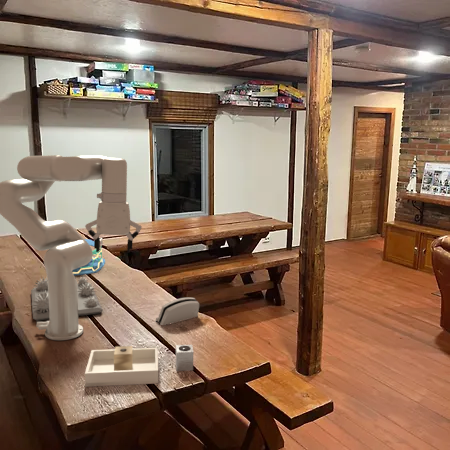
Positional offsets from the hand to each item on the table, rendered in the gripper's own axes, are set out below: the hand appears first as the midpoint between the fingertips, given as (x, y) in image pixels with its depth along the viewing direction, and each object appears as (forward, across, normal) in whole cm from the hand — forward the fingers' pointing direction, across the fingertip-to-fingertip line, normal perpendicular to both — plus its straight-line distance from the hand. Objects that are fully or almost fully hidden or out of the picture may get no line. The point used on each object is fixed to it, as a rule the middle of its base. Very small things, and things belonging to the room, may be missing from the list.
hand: (113, 251), depth 145 cm
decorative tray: (+34, -24, +40) cm, 57 cm away
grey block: (+32, +23, -16) cm, 42 cm away
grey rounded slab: (+32, +23, +20) cm, 44 cm away
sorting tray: (+32, +5, -18) cm, 37 cm away
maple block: (+31, +5, -18) cm, 36 cm away
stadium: (+34, -27, +95) cm, 105 cm away
